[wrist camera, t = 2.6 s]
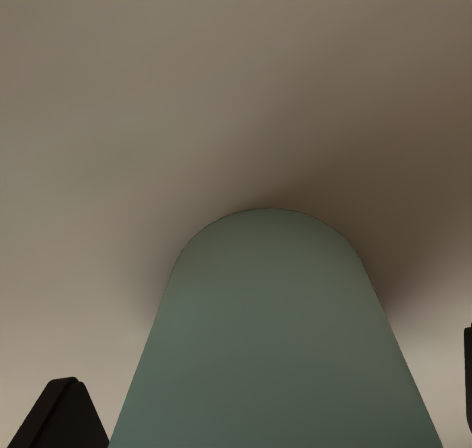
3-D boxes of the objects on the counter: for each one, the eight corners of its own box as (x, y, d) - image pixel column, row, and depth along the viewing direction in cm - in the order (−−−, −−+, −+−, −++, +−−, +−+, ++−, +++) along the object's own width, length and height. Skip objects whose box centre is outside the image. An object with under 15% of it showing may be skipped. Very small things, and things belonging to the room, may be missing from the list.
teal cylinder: (144, 228, 12) (53, 383, 7) (356, 189, 12) (443, 330, 6) (197, 386, 15) (159, 596, 9) (377, 363, 14) (452, 577, 8)
